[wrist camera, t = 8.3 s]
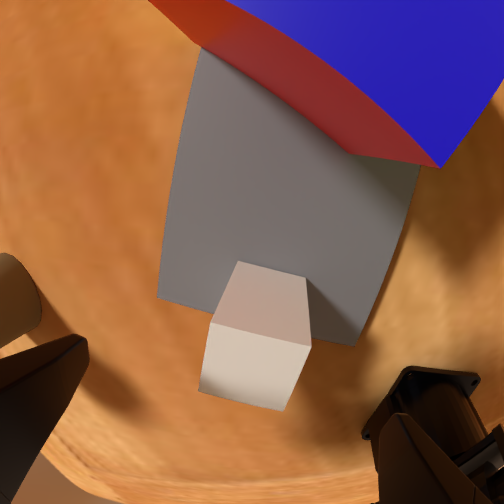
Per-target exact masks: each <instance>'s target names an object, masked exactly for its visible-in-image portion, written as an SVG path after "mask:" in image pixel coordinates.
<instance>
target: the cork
mask: <svg viewBox="0 0 504 504" xmlns="http://www.w3.org/2000/svg"><path fill="white" fill-rule="evenodd" d="M41 312H42V310H41V303H40V298H39V295H38V292H37V289H36V286H35V284H34V283H33V281H32V279H31V277H30V275H29V273H28V272H27V270H26V269H25V268H24V266H23V265H22V264H21V263H20V262H19V261H18V260H17V259H16V258H15V257H13V256H12V255H9V254H7V253H0V348H2V347H3V346H5V345H7V344H8V343H10V342H12V341H13V340H15V339H17V338H18V337H20V336H22V335H23V334H25V333H27V332H28V331H30V330H32V329H33V328H35V327H37V325H38V324H39V322H40V320H41Z"/></svg>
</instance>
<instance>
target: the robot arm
mask: <svg viewBox="0 0 504 504" xmlns="http://www.w3.org/2000/svg"><path fill="white" fill-rule="evenodd" d="M88 365H89V350H88V342H87V339H86V338H85V337H82V336H80V335H78V334H71V335H68V336H65V337H62V338H59V339H57V340H54V341H51V342H48V343H45V344H42V345H39V346H37V347H34V348H31V349H28V350H25V351H22V352H19V353H16V354H14V355H11V356H8V357H5V358H2V359H0V504H11V502H12V500H13V498H14V496H15V494H16V493H17V491H18V489H19V487H20V485H21V483H22V482H23V480H24V478H25V476H26V474H27V472H28V471H29V469H30V467H31V466H32V464H33V462H34V461H35V459H36V457H37V455H38V454H39V452H40V450H41V449H42V447H43V445H44V444H45V442H46V440H47V439H48V437H49V436H50V434H51V432H52V431H53V429H54V427H55V426H56V424H57V423H58V421H59V419H60V418H61V416H62V415H63V413H64V412H65V410H66V408H67V407H68V405H69V403H70V401H71V399H72V397H73V395H74V393H75V391H76V389H77V387H78V385H79V383H80V381H81V379H82V377H83V375H84V373H85V371H86V369H87V367H88ZM409 374H410V375H409ZM407 375H409V376H407ZM480 380H481V378H480V377H479V375H478V374H477V373H469V372H459V371H449V370H440V369H432V368H424V367H416V366H408V367H406V368H404V369H403V370H402V371H401V373H400V375H399V376H398V378H397V380H396V381H395V383H394V384H393V386H392V388H391V389H390V391H389V392H388V394H387V395H386V397H385V398H384V399H383V400H382V402H381V403H380V405H379V406H378V408H377V409H376V411H375V412H374V414H373V415H372V416H371V418H370V419H369V421H368V422H367V424H366V426H365V427H364V429H363V430H362V432H361V435H362V439H364V440H371V446H372V451H373V457H374V463H375V469H376V471H377V473H378V485H379V501H378V502H376V503H371V504H504V467H502V468H501V469H500V470H498V469H499V468H500V467H501V466H503V465H504V427H503V426H502V425H501V424H499V425H498V426H496V427H495V428H494V429H493V430H492V432H491V433H490V434H489V435H488V433H487V431H486V429H485V427H484V425H483V423H482V421H481V419H480V417H479V415H478V413H477V411H476V409H475V407H474V405H473V404H472V402H471V400H470V398H469V397H470V395H471V394H472V393H473V391H474V390H475V388H476V387H477V386H478V384H479V383H480Z"/></svg>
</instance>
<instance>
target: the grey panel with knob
mask: <svg viewBox="0 0 504 504" xmlns="http://www.w3.org/2000/svg"><path fill="white" fill-rule="evenodd" d="M420 167H421V165H419V164H413V163H408V162H402V161H396V160H390V159H383V158H377V157H370V156H363V155H355V154H349V153H348V152H346V151H345V150H344V149H343V148H342V147H341V146H339V145H338V144H337V143H336V142H335V141H334V140H332V139H331V138H330V137H329V136H328V135H326V134H325V133H324V132H323V131H322V130H320V129H319V128H318V127H317V126H315V125H314V124H313V123H312V122H310V121H309V120H308V119H307V118H305V117H304V116H303V115H301V114H300V113H299V112H298V111H296V110H295V109H294V108H292V107H291V106H290V105H288V104H287V103H286V102H284V101H283V100H282V99H280V98H279V97H277V96H276V95H275V94H273V93H272V92H271V91H269V90H268V89H266V88H265V87H263V86H262V85H261V84H259V83H258V82H256V81H255V80H253V79H252V78H250V77H249V76H247V75H246V74H244V73H243V72H241V71H240V70H238V69H237V68H235V67H234V66H232V65H230V64H229V63H227V62H226V61H224V60H223V59H221V58H219V57H218V56H216V55H214V54H213V53H211V52H209V51H208V50H206V49H204V48H203V47H201V50H200V54H199V58H198V61H197V65H196V69H195V73H194V77H193V81H192V85H191V89H190V94H189V98H188V102H187V107H186V111H185V116H184V120H183V125H182V130H181V135H180V140H179V145H178V150H177V155H176V161H175V166H174V172H173V178H172V184H171V190H170V196H169V202H168V209H167V216H166V223H165V230H164V238H163V246H162V254H161V263H160V272H159V282H158V292H157V298H160V299H163V300H167V301H170V302H173V303H177V304H180V305H184V306H187V307H190V308H194V309H197V310H201V311H205V312H208V313H212V314H214V315H213V318H212V320H211V322H210V328H209V333H208V338H207V344H206V349H205V355H204V360H203V366H202V371H201V377H200V383H199V389H198V391H199V392H203V393H206V394H210V395H214V396H217V397H221V398H225V399H229V400H233V401H237V402H241V403H245V404H250V405H254V406H259V407H263V408H268V409H273V410H278V411H284V409H285V406H286V404H287V402H288V400H289V398H290V395H291V393H292V391H293V389H294V387H295V384H296V382H297V380H298V378H299V375H300V373H301V371H302V368H303V366H304V364H305V361H306V359H307V356H308V354H309V352H310V349H311V347H312V346H311V338H314V339H319V340H324V341H328V342H333V343H338V344H343V345H348V346H355V344H356V342H357V340H358V338H359V336H360V334H361V332H362V329H363V327H364V325H365V323H366V320H367V318H368V316H369V314H370V311H371V309H372V307H373V304H374V302H375V300H376V297H377V295H378V292H379V290H380V287H381V285H382V282H383V280H384V277H385V275H386V272H387V270H388V267H389V264H390V262H391V259H392V256H393V253H394V251H395V248H396V245H397V242H398V239H399V236H400V234H401V231H402V228H403V225H404V221H405V218H406V215H407V212H408V209H409V206H410V202H411V199H412V196H413V192H414V189H415V185H416V182H417V178H418V174H419V171H420Z"/></svg>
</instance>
